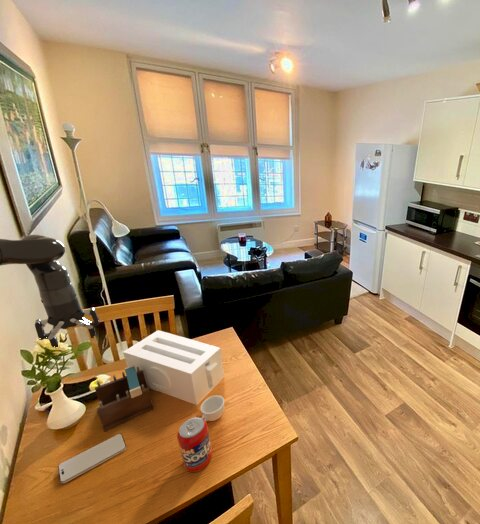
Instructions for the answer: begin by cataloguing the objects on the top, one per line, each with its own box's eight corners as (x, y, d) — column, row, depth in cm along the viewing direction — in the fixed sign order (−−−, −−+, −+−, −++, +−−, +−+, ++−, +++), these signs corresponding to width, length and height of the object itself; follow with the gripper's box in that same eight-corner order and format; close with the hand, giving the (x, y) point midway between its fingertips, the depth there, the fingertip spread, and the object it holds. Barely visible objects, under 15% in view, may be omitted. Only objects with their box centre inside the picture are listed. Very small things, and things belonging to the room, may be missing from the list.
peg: (131, 398, 97) (129, 391, 96) (126, 374, 107) (124, 368, 106) (142, 394, 99) (140, 387, 98) (136, 370, 109) (134, 364, 108)
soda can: (205, 443, 94) (199, 410, 88) (217, 459, 89) (211, 425, 84) (179, 461, 88) (171, 427, 82) (191, 479, 84) (183, 445, 78)
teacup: (213, 403, 108) (211, 392, 106) (230, 409, 106) (229, 399, 104) (192, 425, 99) (190, 414, 97) (210, 433, 97) (208, 422, 95)
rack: (104, 432, 95) (95, 407, 91) (101, 404, 105) (93, 381, 100) (154, 409, 104) (147, 386, 100) (147, 386, 113) (141, 363, 109)
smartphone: (126, 447, 90) (60, 483, 79) (127, 450, 90) (61, 486, 80) (121, 432, 95) (57, 464, 84) (121, 434, 95) (58, 466, 84)
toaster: (130, 384, 114) (120, 353, 109) (164, 358, 129) (158, 330, 123) (202, 409, 106) (196, 377, 100) (230, 379, 120) (227, 349, 114)
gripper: (90, 288, 95) (102, 328, 101) (27, 300, 86) (45, 344, 92) (90, 297, 90) (104, 339, 96) (24, 311, 81) (43, 356, 87)
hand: (75, 341), depth 94 cm, fingers open, 8 cm apart
